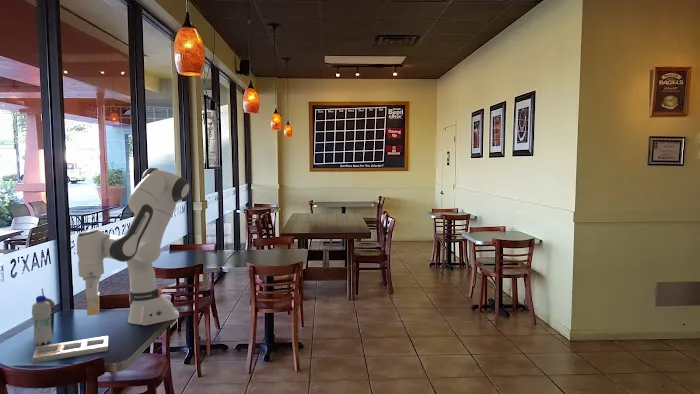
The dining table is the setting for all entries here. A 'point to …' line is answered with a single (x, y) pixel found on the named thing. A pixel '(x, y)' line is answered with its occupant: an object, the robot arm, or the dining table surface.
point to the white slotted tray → (70, 349)
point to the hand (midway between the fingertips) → (93, 304)
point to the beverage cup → (51, 310)
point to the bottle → (42, 321)
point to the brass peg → (93, 309)
